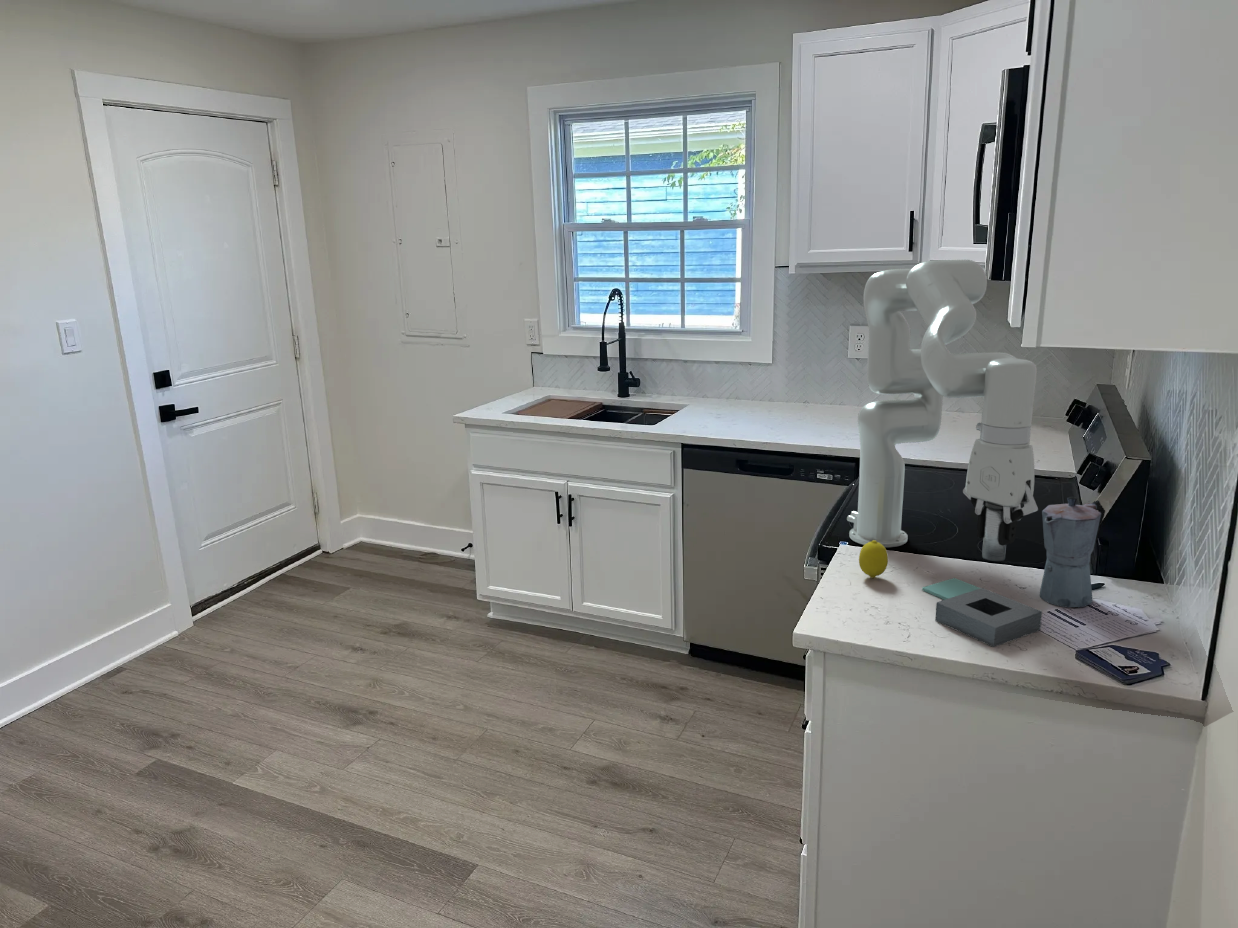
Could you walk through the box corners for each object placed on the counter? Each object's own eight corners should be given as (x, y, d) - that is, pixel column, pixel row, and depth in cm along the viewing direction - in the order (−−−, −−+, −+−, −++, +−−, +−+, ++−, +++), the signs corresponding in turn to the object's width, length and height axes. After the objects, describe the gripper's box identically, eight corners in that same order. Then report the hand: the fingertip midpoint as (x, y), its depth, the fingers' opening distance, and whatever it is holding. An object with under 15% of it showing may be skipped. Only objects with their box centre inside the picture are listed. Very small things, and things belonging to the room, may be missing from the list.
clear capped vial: (975, 555, 145) (980, 500, 142) (991, 551, 146) (996, 496, 144) (995, 563, 141) (1001, 506, 139) (1011, 558, 143) (1016, 502, 141)
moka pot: (1016, 598, 158) (1026, 496, 153) (1067, 581, 165) (1078, 483, 160) (1063, 616, 150) (1076, 509, 145) (1115, 597, 157) (1129, 495, 152)
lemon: (881, 572, 172) (883, 535, 170) (890, 582, 166) (893, 544, 164) (854, 573, 171) (856, 536, 169) (862, 583, 166) (865, 545, 164)
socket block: (935, 620, 149) (936, 602, 149) (980, 605, 155) (982, 587, 154) (993, 647, 139) (995, 627, 138) (1040, 630, 145) (1042, 611, 144)
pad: (922, 590, 162) (922, 587, 162) (954, 580, 167) (954, 577, 166) (960, 606, 155) (961, 603, 155) (993, 596, 159) (993, 593, 159)
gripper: (948, 428, 144) (940, 530, 148) (1036, 447, 130) (1024, 559, 134) (977, 423, 147) (969, 523, 152) (1066, 441, 133) (1054, 550, 138)
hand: (995, 538), depth 143 cm, fingers closed on clear capped vial, 3 cm apart
